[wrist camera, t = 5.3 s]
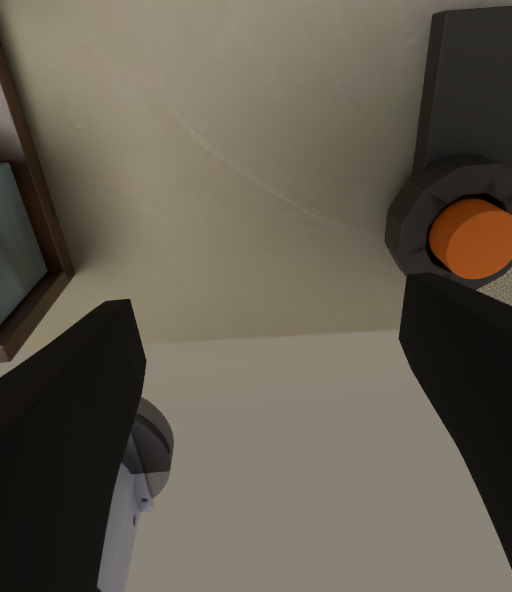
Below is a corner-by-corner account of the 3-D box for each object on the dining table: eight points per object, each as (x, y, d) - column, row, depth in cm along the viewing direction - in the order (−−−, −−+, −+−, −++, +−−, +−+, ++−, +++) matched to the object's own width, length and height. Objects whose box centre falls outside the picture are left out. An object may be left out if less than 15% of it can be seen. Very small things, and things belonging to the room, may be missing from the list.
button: (504, 194, 17) (531, 207, 16) (488, 259, 19) (511, 277, 17) (434, 200, 17) (454, 213, 16) (423, 264, 19) (441, 282, 17)
